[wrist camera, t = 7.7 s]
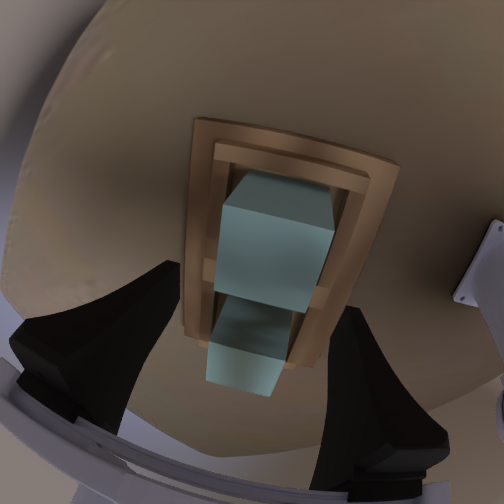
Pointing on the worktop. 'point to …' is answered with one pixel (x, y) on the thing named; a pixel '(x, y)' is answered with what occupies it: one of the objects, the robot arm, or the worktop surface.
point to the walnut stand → (334, 268)
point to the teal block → (274, 240)
